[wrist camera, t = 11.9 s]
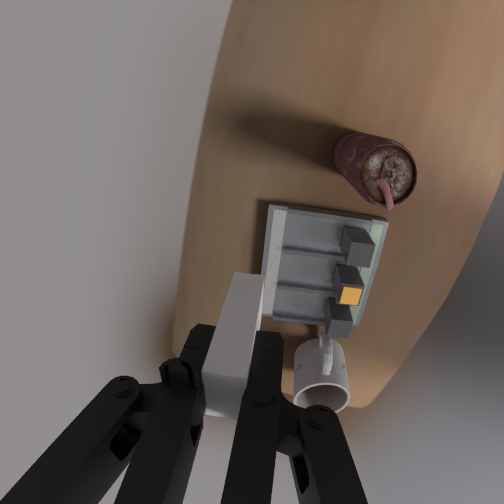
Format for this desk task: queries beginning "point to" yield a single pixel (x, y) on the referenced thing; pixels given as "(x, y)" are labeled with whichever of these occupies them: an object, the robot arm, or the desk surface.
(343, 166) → the can
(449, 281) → the desk surface
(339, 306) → the breaker
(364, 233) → the block
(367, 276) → the panel
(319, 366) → the mug
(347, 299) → the block
